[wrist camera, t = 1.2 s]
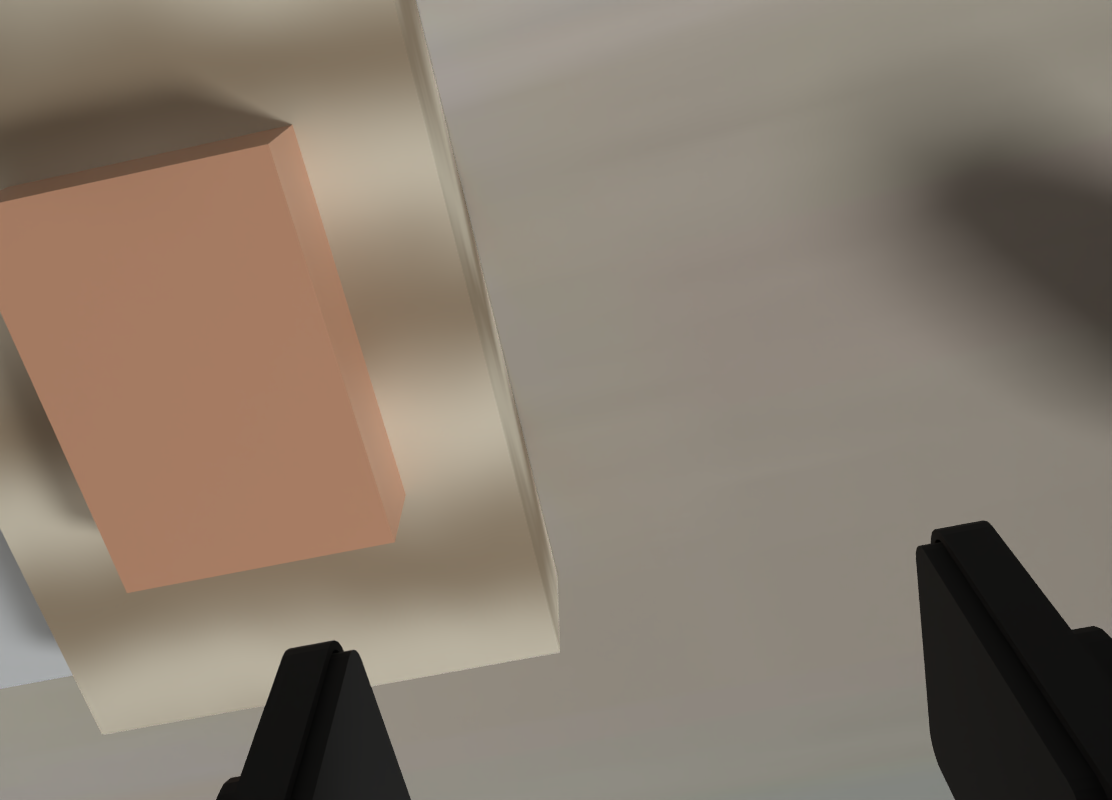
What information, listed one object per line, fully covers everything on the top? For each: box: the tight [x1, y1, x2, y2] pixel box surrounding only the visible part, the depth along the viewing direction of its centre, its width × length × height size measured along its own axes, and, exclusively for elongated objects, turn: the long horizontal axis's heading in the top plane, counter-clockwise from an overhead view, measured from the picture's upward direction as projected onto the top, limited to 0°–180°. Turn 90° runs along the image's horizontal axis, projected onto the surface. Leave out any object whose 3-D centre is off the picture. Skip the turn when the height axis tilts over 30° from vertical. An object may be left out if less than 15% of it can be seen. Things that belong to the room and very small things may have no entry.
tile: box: [0, 125, 406, 593], centre depth 25 cm, size 10×7×2 cm
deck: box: [0, 0, 560, 735], centre depth 28 cm, size 22×14×4 cm, turn 12°
